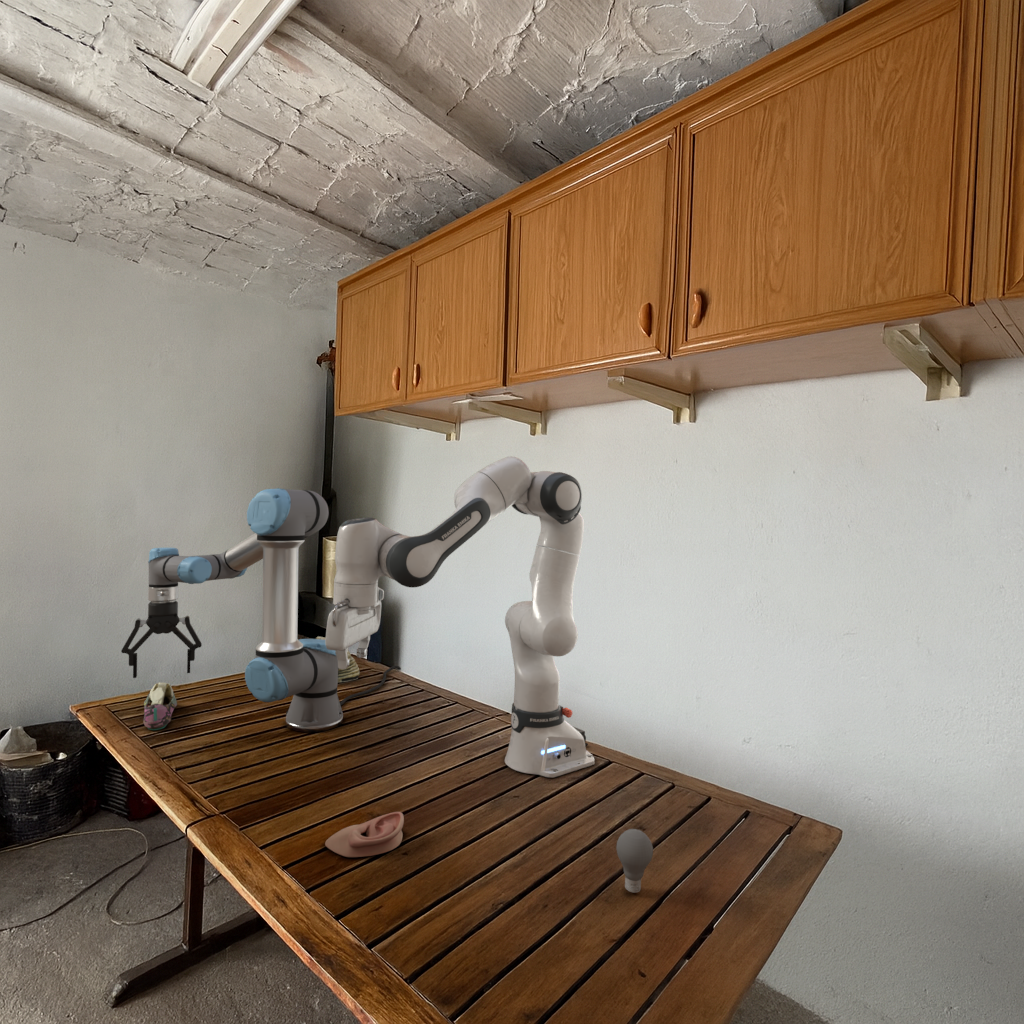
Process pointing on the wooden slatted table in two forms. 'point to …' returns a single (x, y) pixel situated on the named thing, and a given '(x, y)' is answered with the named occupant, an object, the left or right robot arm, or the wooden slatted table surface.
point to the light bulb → (634, 857)
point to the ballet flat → (159, 706)
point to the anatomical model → (368, 837)
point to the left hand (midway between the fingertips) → (162, 674)
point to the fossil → (347, 669)
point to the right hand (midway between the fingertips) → (352, 662)
